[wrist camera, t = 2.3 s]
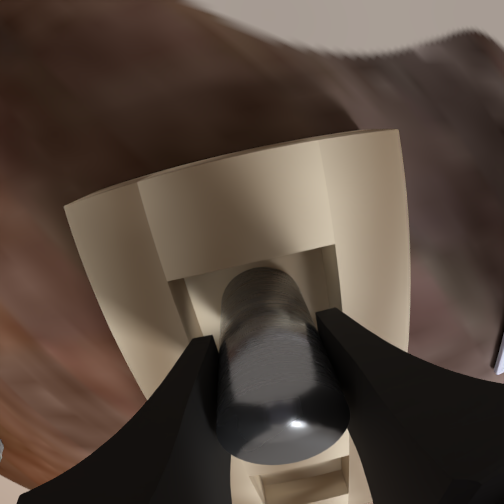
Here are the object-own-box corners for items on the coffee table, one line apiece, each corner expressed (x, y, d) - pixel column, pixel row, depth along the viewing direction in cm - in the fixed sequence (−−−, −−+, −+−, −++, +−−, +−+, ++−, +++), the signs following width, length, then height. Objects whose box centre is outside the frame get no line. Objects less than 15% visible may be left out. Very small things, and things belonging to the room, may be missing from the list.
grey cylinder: (294, 258, 11) (348, 367, 6) (306, 327, 12) (350, 448, 7) (212, 277, 12) (198, 399, 6) (232, 344, 13) (235, 472, 7)
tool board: (360, 129, 11) (398, 129, 8) (371, 467, 18) (382, 498, 16) (100, 189, 11) (63, 206, 8) (237, 496, 19) (238, 529, 16)
